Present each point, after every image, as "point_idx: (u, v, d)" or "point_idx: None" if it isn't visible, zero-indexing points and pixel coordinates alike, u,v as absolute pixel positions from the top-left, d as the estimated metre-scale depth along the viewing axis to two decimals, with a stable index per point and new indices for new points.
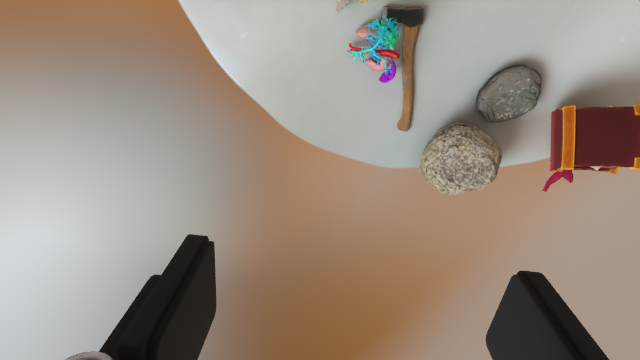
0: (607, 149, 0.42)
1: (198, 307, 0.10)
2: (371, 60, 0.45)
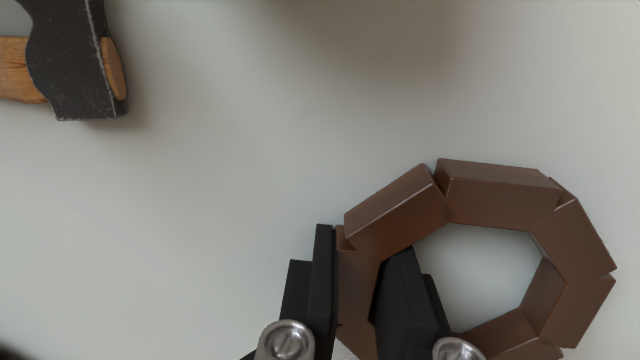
0: None
1: None
2: None
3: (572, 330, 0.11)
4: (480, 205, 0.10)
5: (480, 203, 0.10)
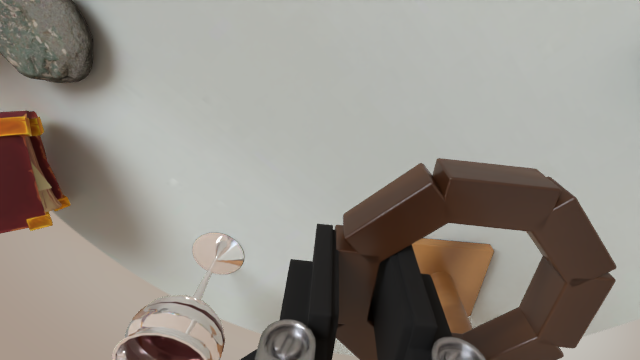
0: None
1: None
2: None
3: (572, 330, 0.11)
4: (479, 205, 0.10)
5: (479, 203, 0.10)
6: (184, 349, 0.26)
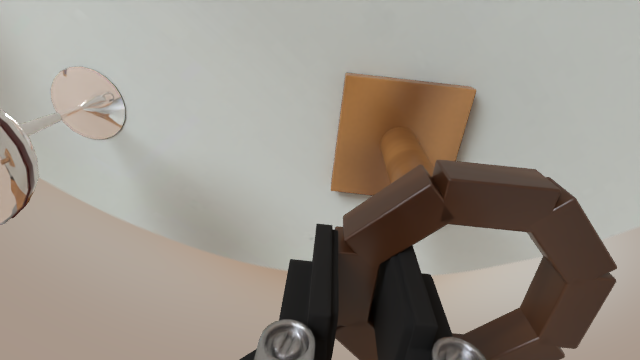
0: None
1: None
2: None
3: (573, 330, 0.11)
4: (479, 206, 0.10)
5: (478, 204, 0.10)
6: None
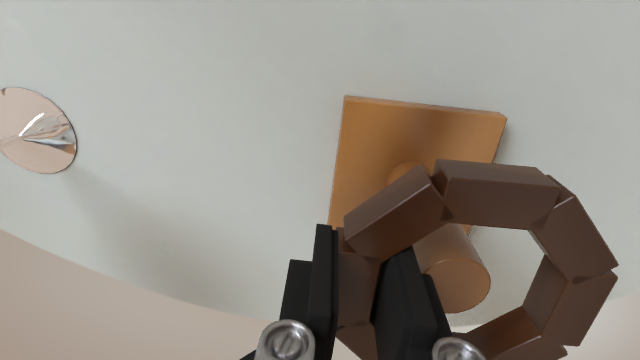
0: None
1: None
2: None
3: (575, 328, 0.11)
4: (479, 205, 0.10)
5: (478, 202, 0.10)
6: None
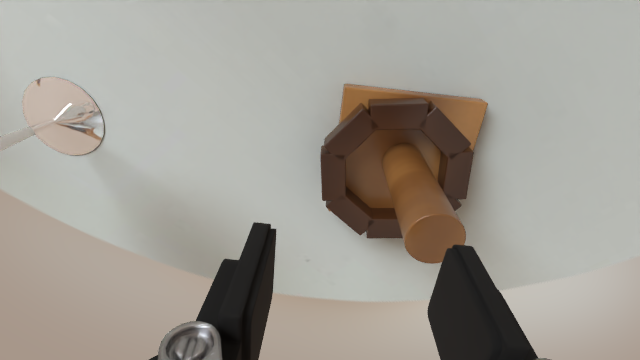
0: None
1: (266, 288, 0.11)
2: None
3: (460, 186, 0.20)
4: (389, 118, 0.19)
5: (388, 116, 0.19)
6: None
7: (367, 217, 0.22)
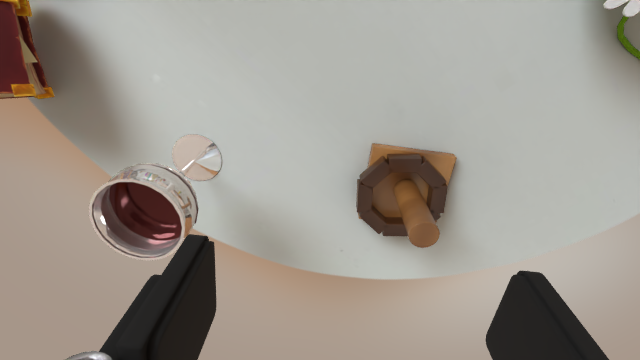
0: None
1: (198, 307, 0.10)
2: None
3: (439, 205, 0.34)
4: (399, 166, 0.33)
5: (399, 165, 0.33)
6: (159, 219, 0.28)
7: (384, 223, 0.35)
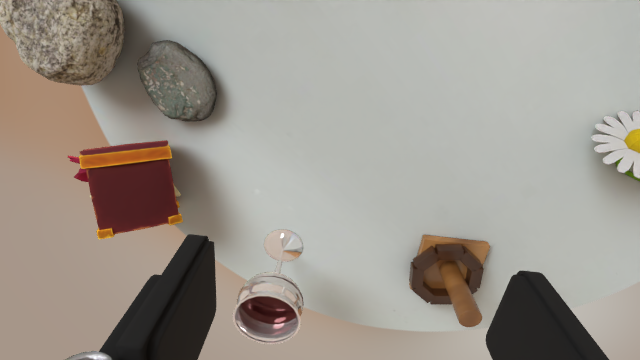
0: (116, 199, 0.34)
1: (198, 307, 0.10)
2: None
3: (477, 283, 0.44)
4: (446, 255, 0.42)
5: (445, 255, 0.42)
6: (273, 310, 0.37)
7: (432, 295, 0.45)
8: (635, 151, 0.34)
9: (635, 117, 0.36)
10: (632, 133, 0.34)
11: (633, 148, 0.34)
